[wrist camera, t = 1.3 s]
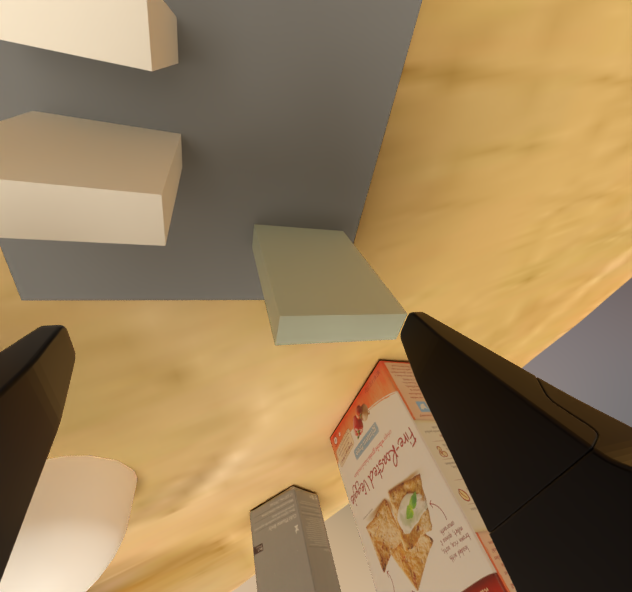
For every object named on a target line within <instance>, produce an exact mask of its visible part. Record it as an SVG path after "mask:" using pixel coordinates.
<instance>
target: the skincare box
mask: <svg viewBox="0 0 632 592" xmlns="http://www.w3.org/2000/svg"><path fill="white" fill-rule="evenodd" d="M250 520H251V531H252V541H253V552H254V562H255V572H256V582H257V592H341V589H340V585H339V581H338V578H337V573H336V569H335V565H334V561H333V557H332V553H331V549H330V544H329V540H328V537H327V532H326V528H325V524H324V520H323V516H322V512H321V508H320V504H319V500H318V496H317V494H314V493H311V492H307V491H304V490H302V489H299V488H296V487H294V486H292V487H290V488H289V489H287V490H286V491H284V492H282V493H281V494H279V495H277V496H276V497H274V498H272V499H271V500H269V501H268V502H266V503H264V504H263V505H261V506H260V507H258V508H257V509H254V510H253V511H251V512H250Z"/></svg>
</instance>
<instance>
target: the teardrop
mask: <svg viewBox="0 0 632 592" xmlns="http://www.w3.org/2000/svg"><path fill="white" fill-rule="evenodd" d="M136 484H137V476H136V474H135V471H134V470H133V469H131V468H129V467H128V466H126V465H124V464H123V463H121V462H120V461H118V460H113V459H107V458H102V457H96V456H91V455H80V456H62V457H56V458H50V459H47V460H46V462H45V465H44V468H43V470H42V473H41V475H40V478H39V481H38V483H37V486H36V489H35V491H34V494H33V497H32V499H31V502H30V505H29V507H28V510H27V513H26V515H25V518H24V521H23V523H22V526H21V529H20V531H19V534H18V537H17V539H16V542H15V545H14V547H13V550H12V553H11V555H10V558H9V561H8V563H7V566H6V569H5V571H4V574H3V577H2V579H1V582H0V592H86V591H87V590H88V589H89V588H90V587H91V586H92V585H93V584H94V583H95V582H96V581H97V580H98V579H99V577H100V576H101V575H102V573H103V572H104V571H105V569H106V568H107V566H108V565H109V564H110V562H111V561H112V560H113V558H114V557H115V555H116V552H117V550H118V548H119V546H120V544H121V542H122V540H123V538H124V536H125V533H126V530H127V526H128V521H129V516H130V512H131V507H132V502H133V498H134V493H135V489H136Z"/></svg>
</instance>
